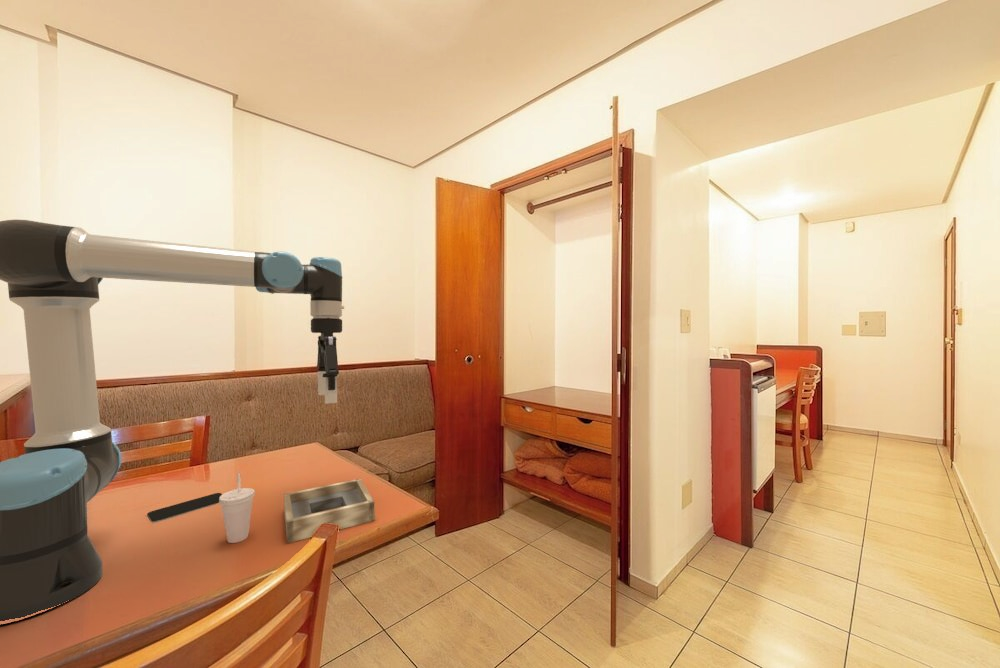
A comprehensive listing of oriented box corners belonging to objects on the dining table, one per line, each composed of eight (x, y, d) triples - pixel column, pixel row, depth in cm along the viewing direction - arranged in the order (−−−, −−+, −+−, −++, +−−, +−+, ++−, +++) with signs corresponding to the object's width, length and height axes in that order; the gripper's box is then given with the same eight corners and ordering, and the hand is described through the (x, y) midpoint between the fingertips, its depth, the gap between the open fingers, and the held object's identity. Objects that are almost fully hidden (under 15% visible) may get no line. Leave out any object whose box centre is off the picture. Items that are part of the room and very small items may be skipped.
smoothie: (262, 531, 85) (261, 469, 85) (240, 547, 79) (238, 480, 79) (236, 529, 86) (234, 468, 86) (211, 545, 80) (210, 479, 79)
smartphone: (228, 499, 100) (152, 521, 89) (228, 501, 100) (152, 524, 89) (219, 491, 105) (146, 512, 93) (219, 494, 105) (146, 515, 93)
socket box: (287, 543, 80) (286, 522, 80) (284, 512, 94) (283, 494, 94) (374, 520, 90) (374, 501, 90) (360, 494, 103) (360, 478, 103)
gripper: (351, 317, 91) (351, 405, 91) (334, 318, 112) (334, 390, 112) (316, 316, 87) (317, 408, 87) (306, 318, 108) (306, 392, 109)
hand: (327, 398), depth 100 cm, fingers open, 13 cm apart
